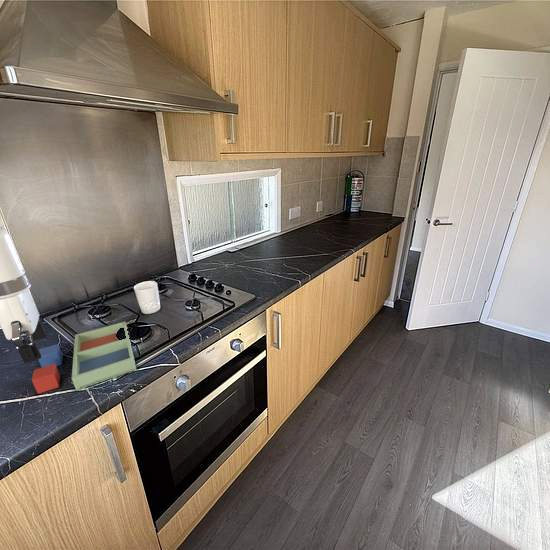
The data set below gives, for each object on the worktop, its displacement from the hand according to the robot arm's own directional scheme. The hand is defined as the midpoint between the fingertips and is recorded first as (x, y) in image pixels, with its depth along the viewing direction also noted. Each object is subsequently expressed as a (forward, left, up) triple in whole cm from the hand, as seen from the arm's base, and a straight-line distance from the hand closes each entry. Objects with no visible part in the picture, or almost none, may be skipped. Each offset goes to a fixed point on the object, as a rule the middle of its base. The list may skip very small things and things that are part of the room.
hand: (36, 348), depth 71 cm
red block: (0, 0, -11) cm, 11 cm away
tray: (+13, +5, -11) cm, 18 cm away
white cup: (+29, +27, -11) cm, 41 cm away
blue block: (0, +10, -11) cm, 15 cm away
